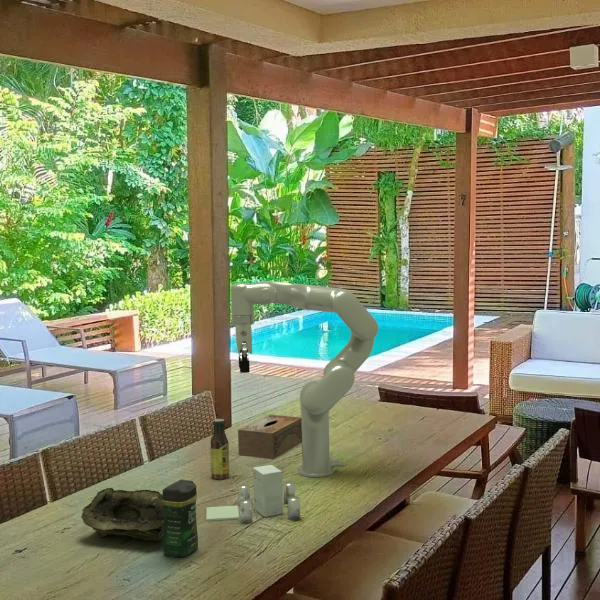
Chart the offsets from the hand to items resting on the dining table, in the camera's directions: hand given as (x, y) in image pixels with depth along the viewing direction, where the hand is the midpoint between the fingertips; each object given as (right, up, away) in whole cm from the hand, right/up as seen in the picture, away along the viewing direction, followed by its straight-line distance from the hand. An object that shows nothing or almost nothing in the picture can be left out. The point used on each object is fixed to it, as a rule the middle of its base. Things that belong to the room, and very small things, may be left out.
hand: (244, 370), depth 278 cm
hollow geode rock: (-28, -43, -51) cm, 72 cm away
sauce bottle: (-8, -37, +3) cm, 38 cm away
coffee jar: (-13, -43, -60) cm, 75 cm away
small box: (+9, -40, -32) cm, 52 cm away
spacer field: (+9, -40, -32) cm, 52 cm away
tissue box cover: (+8, -34, +37) cm, 51 cm away
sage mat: (-4, -40, -33) cm, 52 cm away
